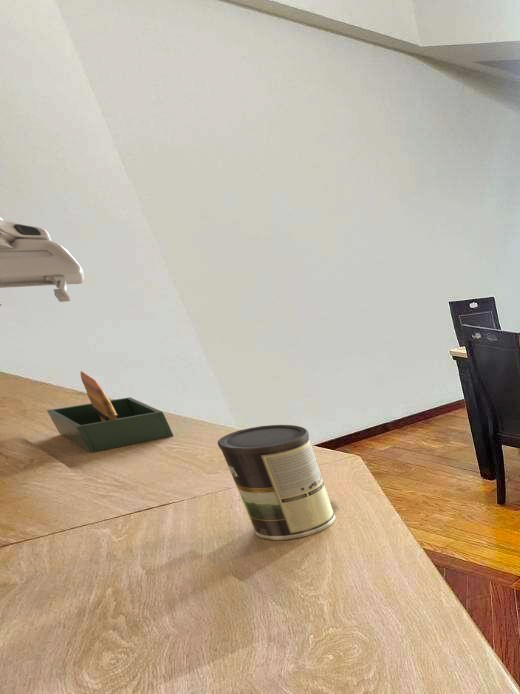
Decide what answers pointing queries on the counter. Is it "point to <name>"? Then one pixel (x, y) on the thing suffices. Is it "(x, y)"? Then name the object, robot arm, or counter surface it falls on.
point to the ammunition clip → (98, 399)
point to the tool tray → (111, 425)
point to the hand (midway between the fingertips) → (31, 301)
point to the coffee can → (278, 481)
